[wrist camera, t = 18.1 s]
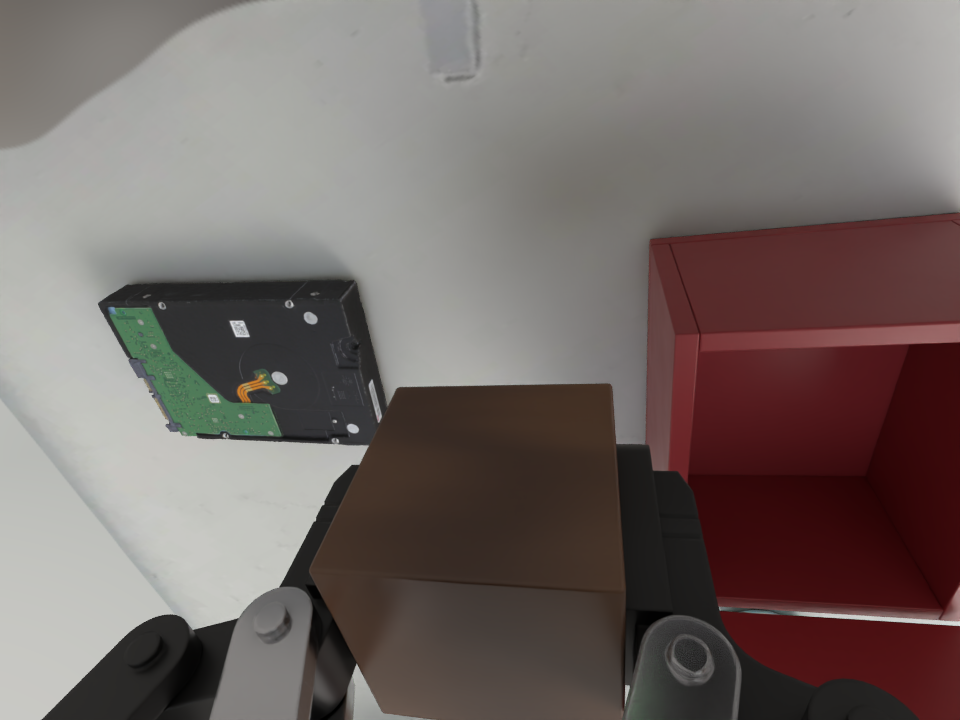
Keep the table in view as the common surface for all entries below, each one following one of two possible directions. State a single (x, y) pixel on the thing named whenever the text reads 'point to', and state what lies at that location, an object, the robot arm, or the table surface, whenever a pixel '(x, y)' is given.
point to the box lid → (859, 655)
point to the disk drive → (254, 358)
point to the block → (485, 555)
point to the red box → (815, 410)
